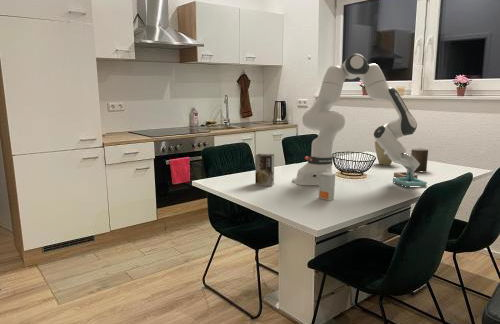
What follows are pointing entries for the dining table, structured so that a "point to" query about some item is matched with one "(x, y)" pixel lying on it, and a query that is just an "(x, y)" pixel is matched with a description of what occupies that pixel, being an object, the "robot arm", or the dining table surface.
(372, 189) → the dining table surface
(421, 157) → the pillar candle
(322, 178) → the skincare box
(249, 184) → the dining table surface
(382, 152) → the plant pot
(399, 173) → the walnut collar
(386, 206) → the dining table surface
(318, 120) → the robot arm
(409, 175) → the metal peg
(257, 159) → the coffee box
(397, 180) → the teal tray
